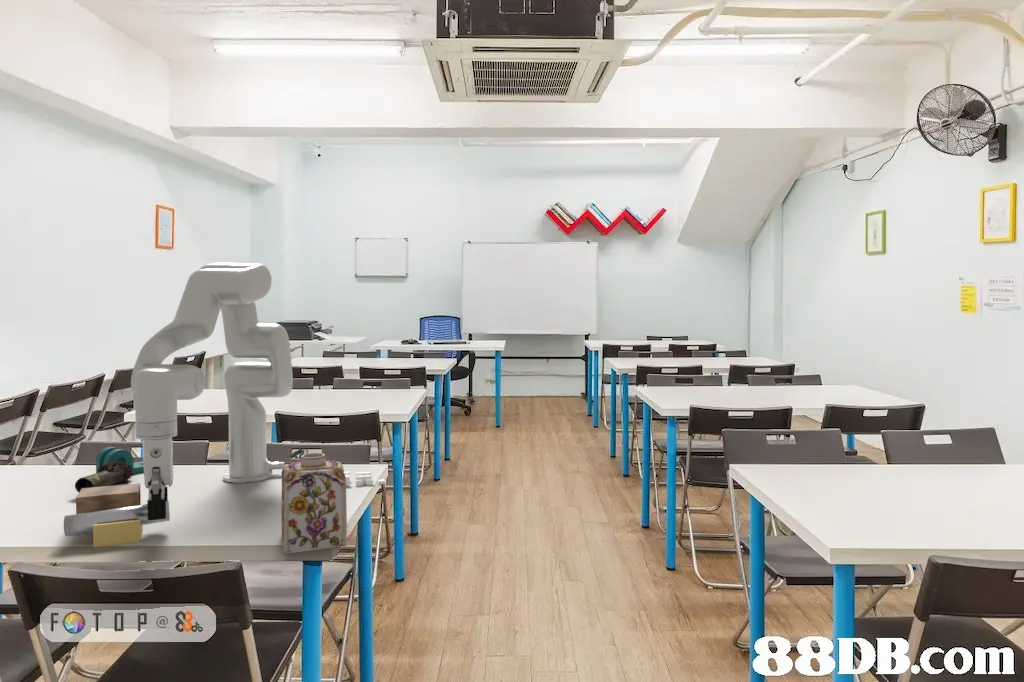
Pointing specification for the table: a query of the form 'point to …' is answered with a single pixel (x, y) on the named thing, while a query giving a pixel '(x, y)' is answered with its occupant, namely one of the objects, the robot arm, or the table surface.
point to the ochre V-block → (117, 532)
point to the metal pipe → (106, 476)
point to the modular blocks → (362, 478)
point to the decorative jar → (313, 504)
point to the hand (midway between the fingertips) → (158, 512)
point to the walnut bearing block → (107, 498)
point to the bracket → (118, 459)
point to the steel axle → (108, 518)
